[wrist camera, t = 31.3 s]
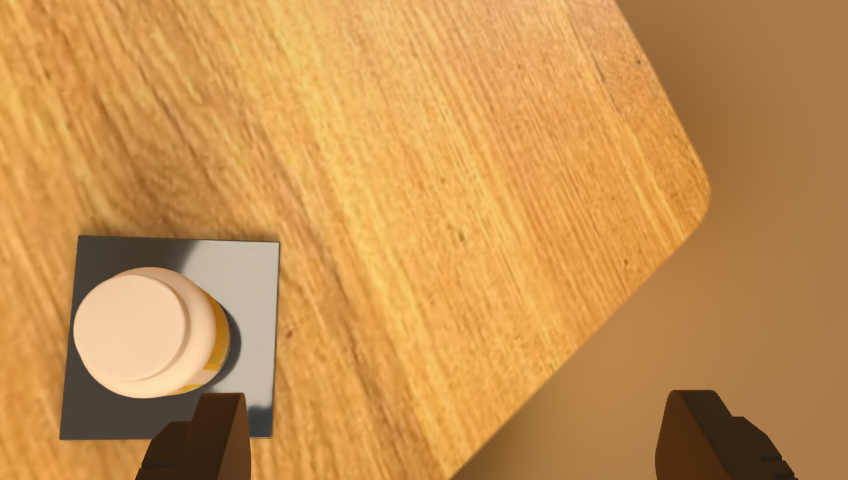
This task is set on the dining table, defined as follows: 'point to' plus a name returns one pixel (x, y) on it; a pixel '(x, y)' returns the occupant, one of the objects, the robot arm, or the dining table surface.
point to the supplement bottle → (151, 334)
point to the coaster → (222, 279)
